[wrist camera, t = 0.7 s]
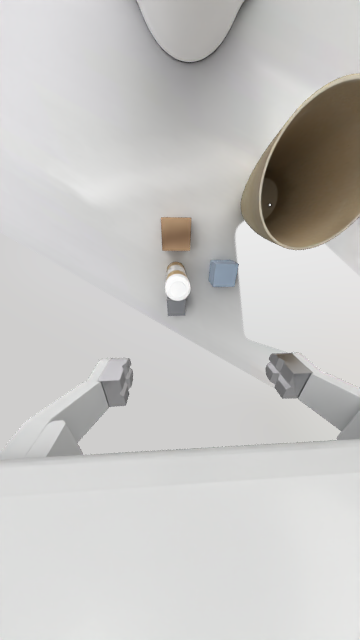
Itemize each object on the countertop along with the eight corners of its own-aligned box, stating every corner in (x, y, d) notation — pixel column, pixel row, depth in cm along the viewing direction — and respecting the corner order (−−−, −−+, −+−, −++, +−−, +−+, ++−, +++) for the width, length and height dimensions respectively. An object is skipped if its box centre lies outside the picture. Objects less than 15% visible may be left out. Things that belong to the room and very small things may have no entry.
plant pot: (308, 149, 28) (440, 74, 14) (280, 241, 36) (349, 249, 22) (227, 148, 27) (284, 69, 14) (217, 241, 35) (247, 250, 21)
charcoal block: (167, 292, 41) (167, 299, 37) (184, 292, 41) (185, 299, 37) (168, 307, 43) (167, 315, 39) (184, 307, 43) (185, 315, 39)
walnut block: (162, 218, 32) (160, 217, 28) (188, 219, 32) (191, 217, 28) (163, 247, 35) (162, 250, 30) (187, 247, 35) (189, 250, 31)
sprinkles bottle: (175, 283, 39) (177, 306, 28) (162, 270, 38) (159, 289, 26) (188, 271, 38) (196, 289, 26) (176, 256, 36) (178, 270, 25)
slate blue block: (210, 260, 37) (215, 264, 33) (230, 260, 37) (238, 264, 33) (208, 280, 40) (213, 286, 35) (227, 280, 40) (234, 286, 36)
